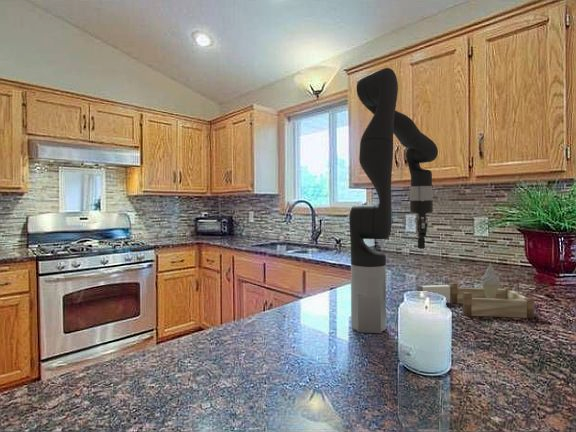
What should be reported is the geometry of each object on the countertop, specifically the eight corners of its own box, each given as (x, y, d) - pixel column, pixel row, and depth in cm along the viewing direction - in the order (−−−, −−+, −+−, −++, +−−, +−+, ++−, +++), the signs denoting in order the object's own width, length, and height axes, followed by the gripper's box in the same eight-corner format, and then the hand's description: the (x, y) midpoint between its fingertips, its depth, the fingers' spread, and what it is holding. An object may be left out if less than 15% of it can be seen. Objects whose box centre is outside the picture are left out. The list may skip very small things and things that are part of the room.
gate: (446, 300, 122) (447, 284, 122) (450, 301, 120) (450, 285, 120) (416, 301, 121) (417, 285, 121) (419, 302, 119) (419, 286, 119)
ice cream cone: (481, 310, 112) (481, 262, 111) (481, 306, 116) (481, 260, 116) (500, 312, 109) (500, 263, 109) (499, 308, 114) (499, 261, 114)
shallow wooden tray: (535, 318, 103) (536, 296, 103) (464, 315, 106) (464, 294, 106) (510, 303, 119) (510, 284, 119) (448, 301, 123) (448, 282, 122)
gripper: (408, 200, 133) (408, 246, 134) (411, 199, 120) (411, 250, 121) (430, 199, 131) (430, 246, 132) (435, 199, 118) (435, 251, 119)
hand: (421, 248), depth 126 cm, fingers closed
